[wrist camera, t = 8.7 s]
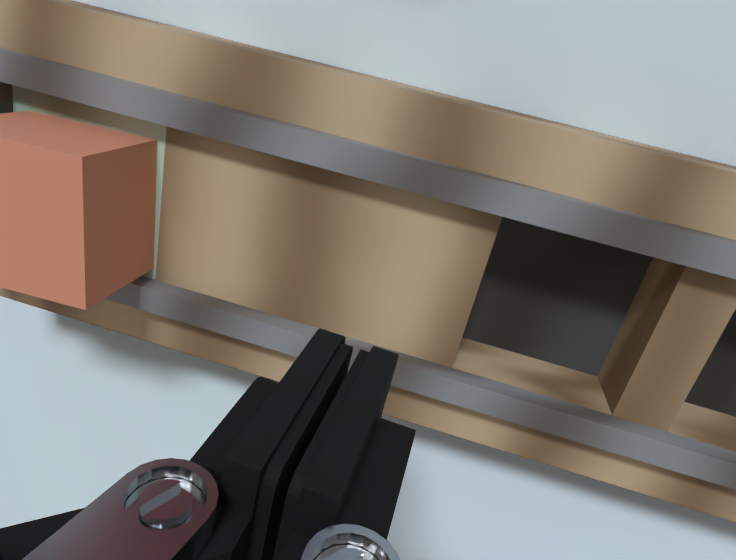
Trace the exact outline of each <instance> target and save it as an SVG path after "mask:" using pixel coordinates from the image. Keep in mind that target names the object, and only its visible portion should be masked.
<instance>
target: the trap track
mask: <svg viewBox="0 0 736 560" xmlns="http://www.w3.org/2000/svg"><path fill="white" fill-rule="evenodd" d="M20 111H35V112H39V113H43V114H48V115H52V116H56V117H61V118H65V119H70V120H74V121H78V122H83V123H87V124H91V125H96V126H100V127H104V128H109V129H113V130H117V131H122V132H126V133H130V134H135V135H139V136H144V137H148V138H152V139H157V171H156V204H155V238H154V268H153V269H152V270H150V271H148V272H147V273H145V274H143V275H142V276H140V277H139V278H137V279H135V280H134V281H132V282H131V283H129V284H127V285H126V286H124V287H122V288H121V289H119V290H118V291H116V292H114V293H113V294H111V295H110V296H108V297H106V298H105V299H103V300H101V301H100V302H98V303H97V304H95V305H93V306H92V307H90V308H88V309H87V310H83V309H79V308H76V307H72V306H68V305H65V304H61V303H57V302H53V301H50V300H46V299H42V298H39V297H35V296H31V295H27V294H24V293H20V292H16V291H13V290H9V289H5V288H1V287H0V296H3V297H6V298H9V299H12V300H15V301H19V302H22V303H25V304H28V305H32V306H35V307H38V308H41V309H45V310H48V311H51V312H54V313H58V314H61V315H64V316H67V317H71V318H74V319H77V320H80V321H84V322H87V323H90V324H93V325H97V326H100V327H103V328H106V329H110V330H113V331H116V332H119V333H123V334H126V335H129V336H132V337H136V338H139V339H142V340H145V341H149V342H152V343H155V344H158V345H162V346H165V347H168V348H171V349H175V350H178V351H181V352H184V353H188V354H191V355H194V356H197V357H201V358H204V359H207V360H210V361H213V362H217V363H220V364H223V365H226V366H230V367H233V368H236V369H239V370H243V371H246V372H249V373H252V374H256V375H259V376H262V377H265V378H269V379H272V380H275V381H278V382H280V381H281V379H282V378H283V376H284V375H285V374H286V372H287V371H288V370H289V368H290V367H291V365H292V364H293V363H294V361H295V360H296V359H297V357H298V356H299V355H300V353H301V352H302V350H303V349H304V348H305V346H306V345H307V344H308V342H309V341H310V340H311V338H312V337H313V335H314V334H315V333H316V331H317V330H318V329H319V328H321V329H324V330H327V331H330V332H333V333H336V334H339V335H342V336H345V338H346V339H345V344H347V345H350V346H353V352H352V356H351V360H350V364H349V368H348V371H349V370H350V368H351V366H352V364H353V362H354V360H355V358H356V356H357V355H358V353H359V351H360V349H362V350H365V351H368V352H370V350H371V348H372V346H376V347H379V348H382V349H385V350H388V351H391V352H394V353H397V354H399V357H398V360H397V364H396V367H395V371H394V374H393V378H392V381H391V385H390V388H389V392H388V395H387V399H386V402H385V405H384V409H383V412H382V414H386V415H389V416H392V417H395V418H399V419H402V420H405V421H408V422H411V423H415V424H418V425H421V426H424V427H428V428H431V429H434V430H437V431H441V432H444V433H447V434H450V435H454V436H457V437H460V438H463V439H467V440H470V441H473V442H476V443H480V444H483V445H486V446H489V447H493V448H496V449H499V450H502V451H506V452H509V453H512V454H515V455H519V456H522V457H525V458H528V459H532V460H535V461H538V462H541V463H545V464H548V465H551V466H554V467H558V468H561V469H564V470H567V471H571V472H574V473H577V474H580V475H584V476H587V477H590V478H593V479H597V480H600V481H603V482H606V483H609V484H613V485H616V486H619V487H622V488H626V489H629V490H632V491H635V492H639V493H642V494H645V495H648V496H652V497H655V498H658V499H661V500H665V501H668V502H671V503H674V504H678V505H681V506H684V507H687V508H691V509H694V510H697V511H700V512H704V513H707V514H710V515H713V516H717V517H720V518H723V519H726V520H730V521H733V522H736V167H733V166H729V165H725V164H721V163H717V162H713V161H710V160H706V159H702V158H698V157H694V156H690V155H686V154H682V153H678V152H674V151H670V150H666V149H662V148H658V147H654V146H650V145H646V144H642V143H638V142H634V141H630V140H626V139H622V138H618V137H614V136H610V135H606V134H602V133H598V132H594V131H590V130H586V129H582V128H578V127H574V126H570V125H566V124H562V123H558V122H554V121H550V120H546V119H542V118H538V117H534V116H530V115H526V114H522V113H518V112H514V111H510V110H506V109H502V108H498V107H494V106H490V105H486V104H482V103H478V102H474V101H470V100H466V99H462V98H458V97H454V96H450V95H446V94H442V93H438V92H434V91H430V90H426V89H422V88H418V87H414V86H410V85H406V84H402V83H398V82H395V81H391V80H387V79H383V78H379V77H375V76H371V75H367V74H363V73H359V72H355V71H351V70H347V69H343V68H339V67H335V66H331V65H327V64H323V63H319V62H315V61H311V60H307V59H303V58H299V57H295V56H291V55H287V54H283V53H279V52H275V51H271V50H267V49H263V48H259V47H255V46H251V45H247V44H243V43H239V42H235V41H231V40H227V39H223V38H219V37H215V36H211V35H207V34H203V33H199V32H195V31H191V30H187V29H183V28H179V27H175V26H171V25H167V24H163V23H159V22H155V21H151V20H147V19H143V18H139V17H135V16H131V15H127V14H123V13H119V12H115V11H111V10H107V9H103V8H99V7H95V6H91V5H87V4H83V3H80V2H76V1H72V0H0V113H10V112H20ZM347 373H348V372H347Z"/></svg>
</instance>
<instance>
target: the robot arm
mask: <svg viewBox="0 0 736 560" xmlns="http://www.w3.org/2000/svg"><path fill="white" fill-rule="evenodd" d="M345 339H346V338H345V336H342V335H339V334H336V333H333V332H330V331H327V330H324V329H321V328H319V329H318V330H317V331H316V333H315V334H314V335H313V337H312V338H311V340H310V341H309V342H308V344H307V345H306V346H305V348H304V349H303V350H302V352H301V353H300V355H299V356H298V357H297V359H296V360H295V361H294V363H293V364H292V365H291V367H290V368H289V370H288V371H287V372H286V374H285V375H284V376H283V378H282V379H281V381H280V382H279V383H278V382H276V381H273V380H270V379H267V378H264V377H258V378H257V379H256V380H255V381H254V382H253V383H252V385H251V386H250V387H249V388H248V389H247V391H246V392H245V393H244V394H243V396H242V397H241V398H240V399H239V401H238V402H237V403H236V404H235V405H234V407H233V408H232V409H231V410H230V412H229V413H228V414H227V415H226V417H225V418H224V419H223V420H222V421H221V423H220V424H219V425H218V426H217V428H216V429H215V430H214V431H213V433H212V434H211V435H210V436H209V437H208V439H207V440H206V441H205V442H204V444H203V445H202V446H201V447H200V449H199V450H198V451H197V452H196V453H195V455H194V456H193V457H192V458H191V460H190V461H188V460H183V459H174V458H169V459H160V460H154V461H151V462H148V463H145V464H142V465H140V466H138V467H137V468H135V469H134V470H132V471H130V472H129V473H127V474H126V475H125V476H124V477H122V478H121V479H120V480H119V481H117V482H116V483H115V484H114V485H113V486H111V487H110V488H109V489H108V490H106V491H105V492H104V493H103V494H102V495H100V496H99V497H98V498H97V499H95V500H94V501H93V502H92V503H90V504H89V505H88V506H87V507H86V508H82V509H78V510H74V511H70V512H66V513H62V514H58V515H54V516H50V517H46V518H42V519H38V520H33V521H29V522H25V523H21V524H17V525H13V526H9V527H5V528H1V529H0V560H400V558H399V556H398V554H397V552H396V551H395V549H394V548H393V547H392V546H391V545H390V543H389V542H388V541H387V536H388V532H389V529H390V525H391V521H392V518H393V514H394V510H395V506H396V503H397V499H398V495H399V492H400V488H401V484H402V480H403V477H404V473H405V469H406V466H407V462H408V458H409V454H410V451H411V447H412V443H413V440H414V436H415V432H416V430H413V429H411V428H408V427H405V426H402V425H399V424H396V423H393V422H390V421H388V420H385V419H382V418H381V416H382V412H383V409H384V405H385V402H386V399H387V395H388V392H389V388H390V385H391V381H392V378H393V374H394V371H395V367H396V364H397V360H398V357H399V354H397V353H394V352H391V351H388V350H385V349H382V348H379V347H376V346H372V348H371V350H370V352H368V351H365V350H362V349H360V351H359V353H358V355H357V356H356V358H355V360H354V362H353V364H352V366H351V368H350V370H349V371H348V368H349V364H350V360H351V356H352V352H353V346H350V345H347V344H345ZM347 372H348V373H347Z"/></svg>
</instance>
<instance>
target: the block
mask: <svg viewBox="0 0 736 560" xmlns="http://www.w3.org/2000/svg"><path fill="white" fill-rule="evenodd" d="M156 171H157V139H152V138H148V137H144V136H139V135H135V134H130V133H126V132H122V131H117V130H113V129H109V128H104V127H100V126H96V125H91V124H87V123H83V122H78V121H74V120H70V119H65V118H61V117H56V116H52V115H48V114H43V113H39V112H35V111H20V112H10V113H0V287H1V288H5V289H9V290H13V291H16V292H20V293H24V294H27V295H31V296H35V297H39V298H42V299H46V300H50V301H53V302H57V303H61V304H65V305H68V306H72V307H76V308H79V309H83V310H87V309H88V308H90V307H92V306H93V305H95V304H97V303H98V302H100V301H101V300H103V299H105V298H106V297H108V296H110V295H111V294H113V293H114V292H116V291H118V290H119V289H121V288H122V287H124V286H126V285H127V284H129V283H131V282H132V281H134V280H135V279H137V278H139V277H140V276H142V275H143V274H145V273H147V272H148V271H150V270H152V269H153V268H154V238H155V204H156Z"/></svg>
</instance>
